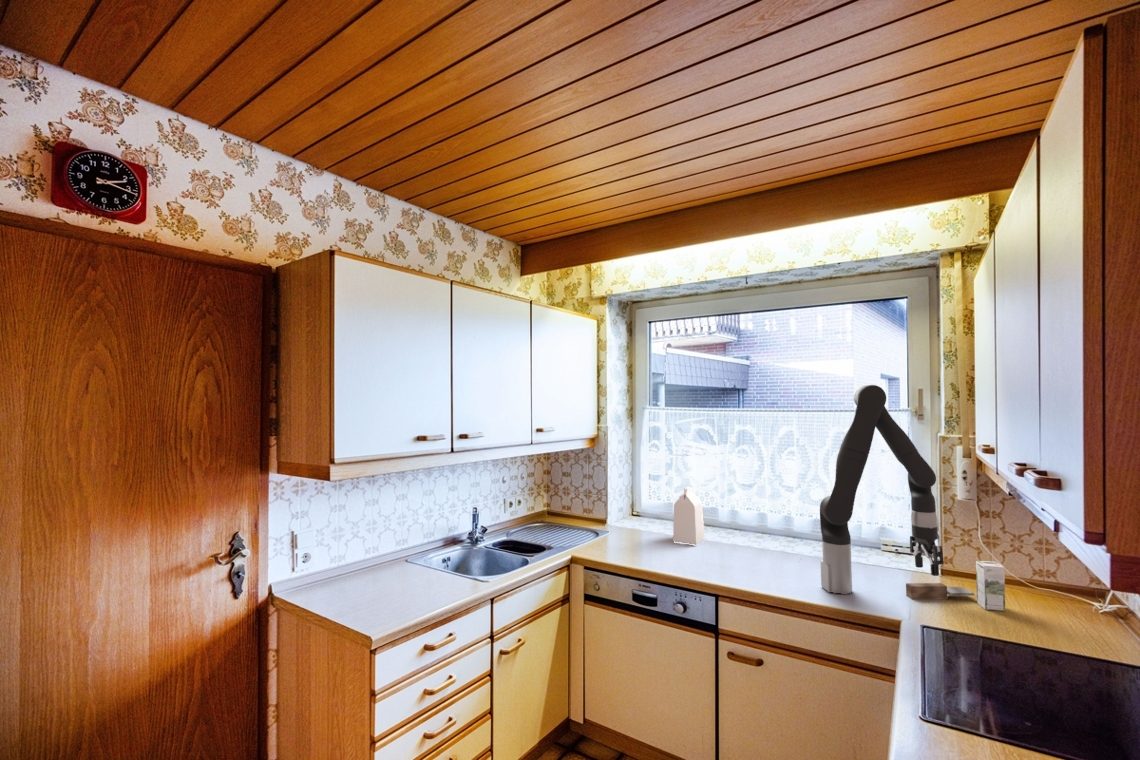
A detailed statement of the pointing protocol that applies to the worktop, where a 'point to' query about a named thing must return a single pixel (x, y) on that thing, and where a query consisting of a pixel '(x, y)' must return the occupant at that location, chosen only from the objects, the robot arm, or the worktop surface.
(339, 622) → the worktop surface
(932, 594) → the turner
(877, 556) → the worktop surface
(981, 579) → the syrup box
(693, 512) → the milk
